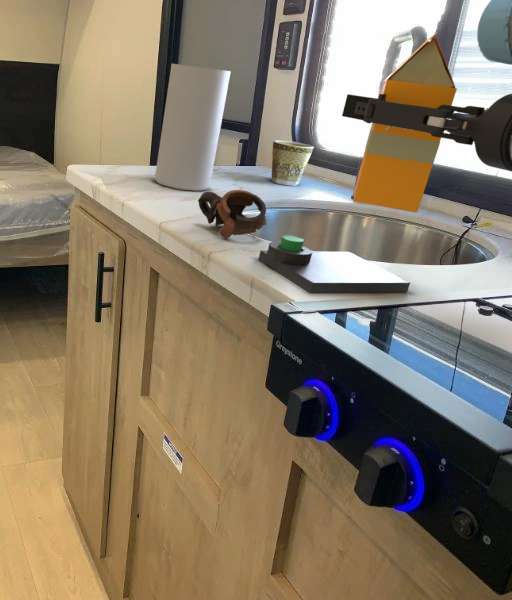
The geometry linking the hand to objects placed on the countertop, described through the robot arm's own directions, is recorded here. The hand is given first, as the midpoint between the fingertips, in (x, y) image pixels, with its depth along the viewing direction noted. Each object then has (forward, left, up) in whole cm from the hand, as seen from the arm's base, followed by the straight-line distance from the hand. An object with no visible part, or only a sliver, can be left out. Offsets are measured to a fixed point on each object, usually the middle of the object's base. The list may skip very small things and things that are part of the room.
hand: (379, 109), depth 79 cm
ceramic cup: (-35, -67, -23) cm, 79 cm away
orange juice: (0, +5, -11) cm, 12 cm away
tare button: (+7, -2, -20) cm, 22 cm away
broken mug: (+8, -19, -23) cm, 31 cm away
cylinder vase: (0, -56, -23) cm, 60 cm away
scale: (+2, +1, -23) cm, 23 cm away
